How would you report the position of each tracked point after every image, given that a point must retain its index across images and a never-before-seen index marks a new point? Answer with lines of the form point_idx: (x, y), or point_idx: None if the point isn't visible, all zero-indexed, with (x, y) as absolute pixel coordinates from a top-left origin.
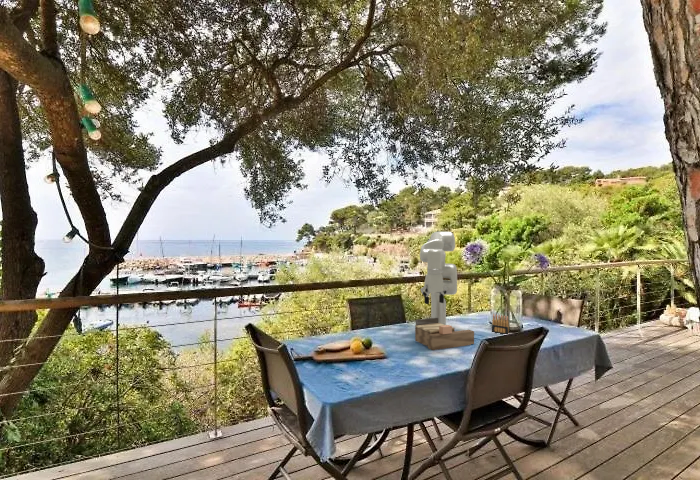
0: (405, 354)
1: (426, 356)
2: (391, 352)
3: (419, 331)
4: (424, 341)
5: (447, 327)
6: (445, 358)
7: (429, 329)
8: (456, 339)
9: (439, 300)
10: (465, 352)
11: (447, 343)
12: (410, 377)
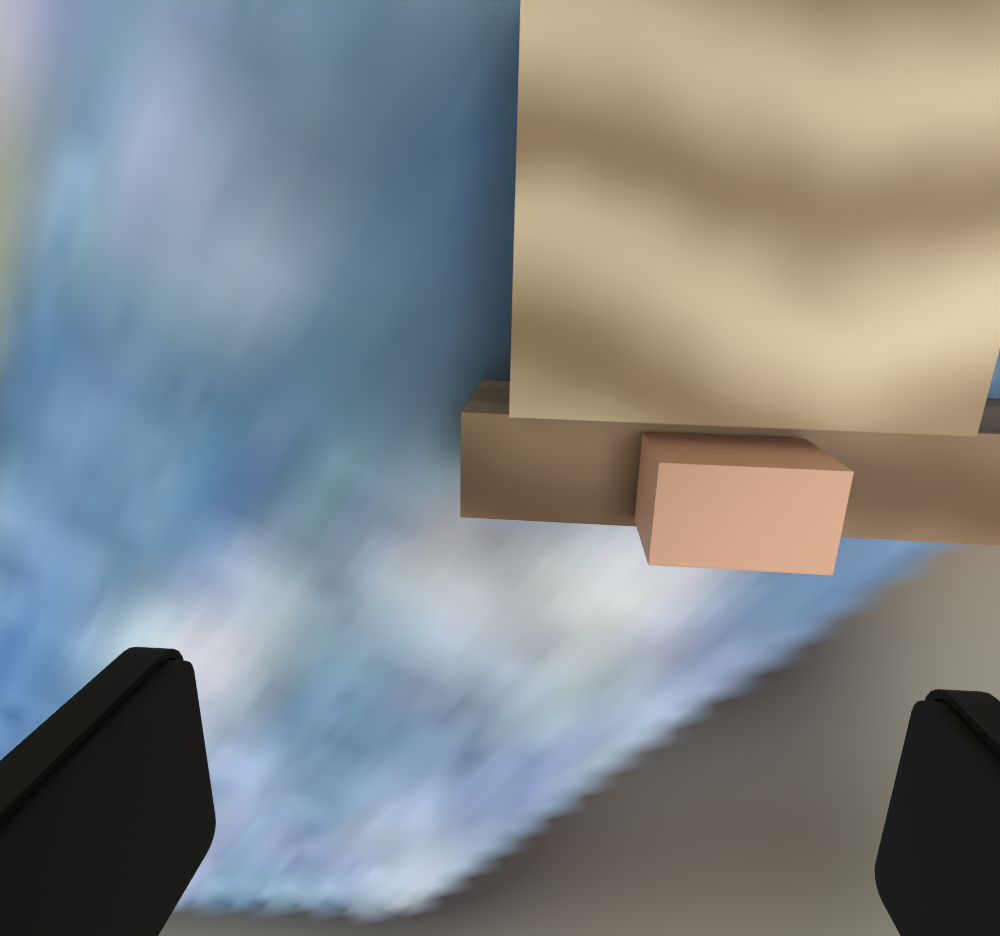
0: (166, 453)
1: (318, 586)
2: (60, 335)
3: None
4: None
5: (734, 564)
6: (437, 696)
7: (547, 328)
8: None
9: (969, 762)
10: (717, 653)
11: None
12: None
